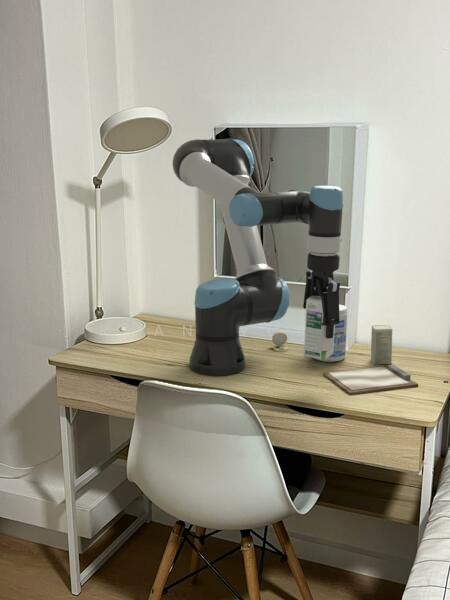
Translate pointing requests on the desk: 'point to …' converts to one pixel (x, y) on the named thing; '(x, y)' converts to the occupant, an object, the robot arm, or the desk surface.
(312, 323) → the syrup box
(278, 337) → the eyeshadow
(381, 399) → the desk surface
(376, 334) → the skincare box
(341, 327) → the supplement tub
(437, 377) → the desk surface
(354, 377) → the clipboard
